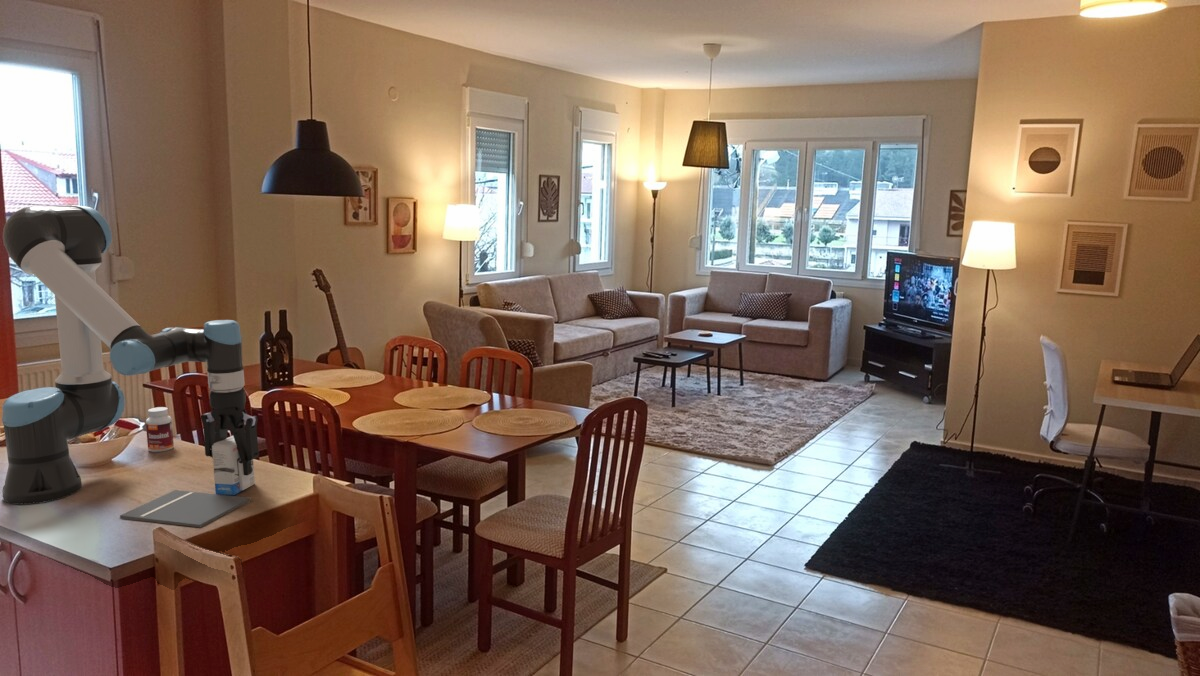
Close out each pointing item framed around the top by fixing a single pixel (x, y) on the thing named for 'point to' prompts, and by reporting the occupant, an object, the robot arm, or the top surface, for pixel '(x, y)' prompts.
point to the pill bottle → (159, 430)
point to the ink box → (227, 467)
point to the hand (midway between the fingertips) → (234, 486)
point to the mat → (186, 508)
